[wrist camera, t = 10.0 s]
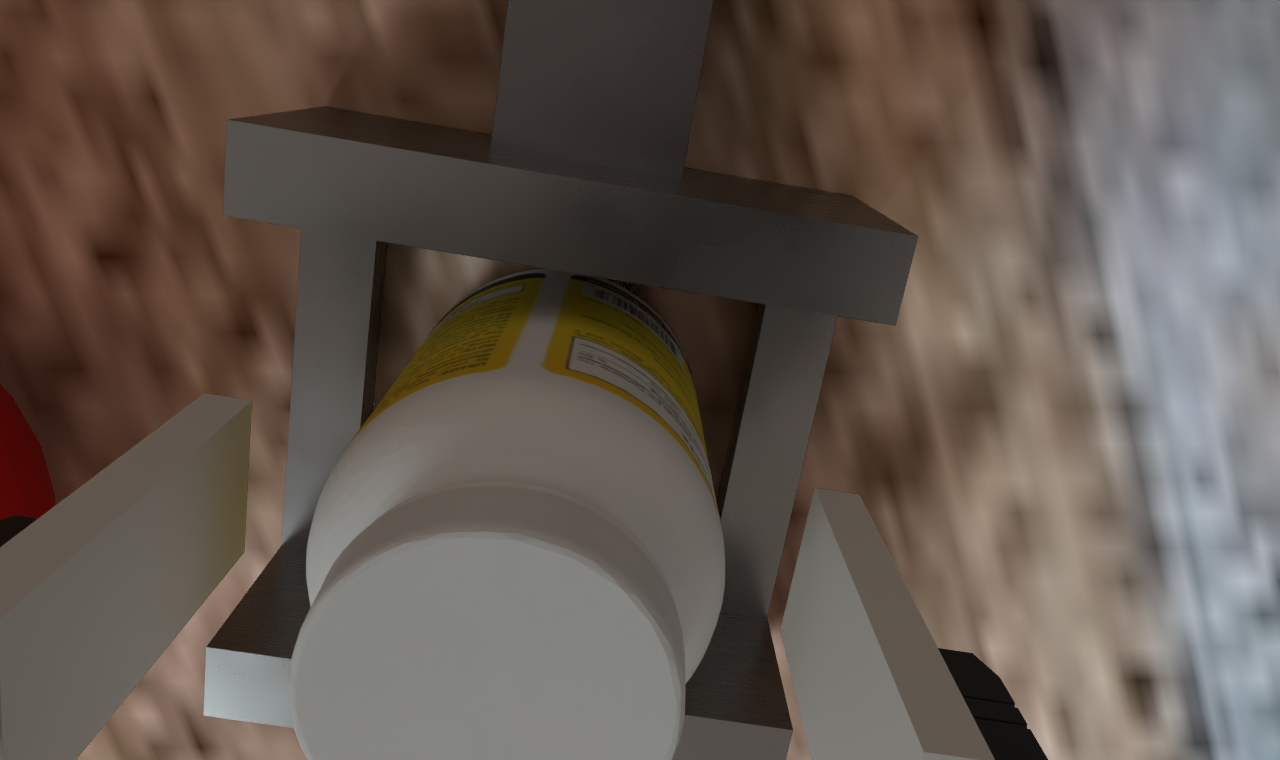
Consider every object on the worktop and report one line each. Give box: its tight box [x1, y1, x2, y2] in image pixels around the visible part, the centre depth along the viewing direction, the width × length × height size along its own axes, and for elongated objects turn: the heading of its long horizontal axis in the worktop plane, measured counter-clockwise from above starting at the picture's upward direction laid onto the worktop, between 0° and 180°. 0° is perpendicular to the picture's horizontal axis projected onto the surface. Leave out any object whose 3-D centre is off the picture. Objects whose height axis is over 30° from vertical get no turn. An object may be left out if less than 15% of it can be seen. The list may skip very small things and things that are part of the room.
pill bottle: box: [289, 269, 725, 760], centre depth 17 cm, size 6×6×11 cm
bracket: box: [204, 0, 918, 760], centre depth 18 cm, size 22×11×5 cm, turn 171°
